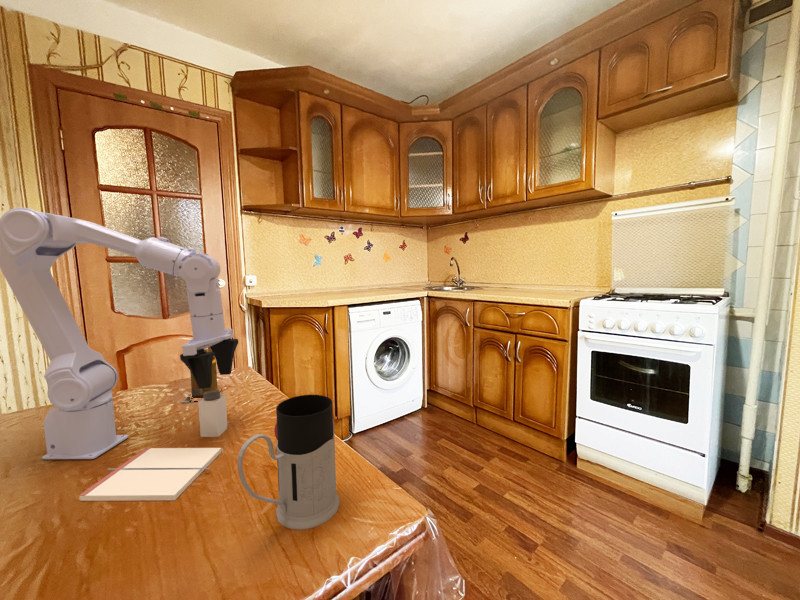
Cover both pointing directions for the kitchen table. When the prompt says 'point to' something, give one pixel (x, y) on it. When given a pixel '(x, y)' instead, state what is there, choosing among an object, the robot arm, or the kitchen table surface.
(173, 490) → the notepad
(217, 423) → the white bottle
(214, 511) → the kitchen table surface
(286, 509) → the glass holder
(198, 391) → the condiment
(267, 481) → the kitchen table surface
